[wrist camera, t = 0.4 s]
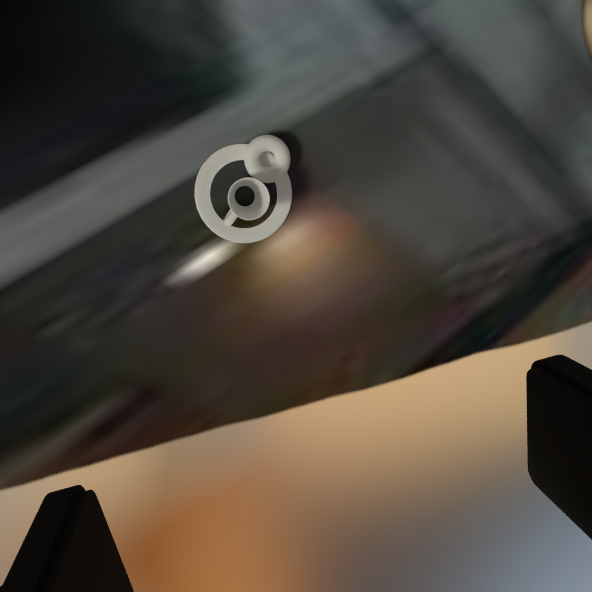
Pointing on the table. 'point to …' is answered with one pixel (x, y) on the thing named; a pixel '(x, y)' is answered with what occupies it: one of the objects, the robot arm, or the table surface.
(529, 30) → the table surface
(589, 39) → the plate
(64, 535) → the robot arm
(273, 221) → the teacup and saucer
